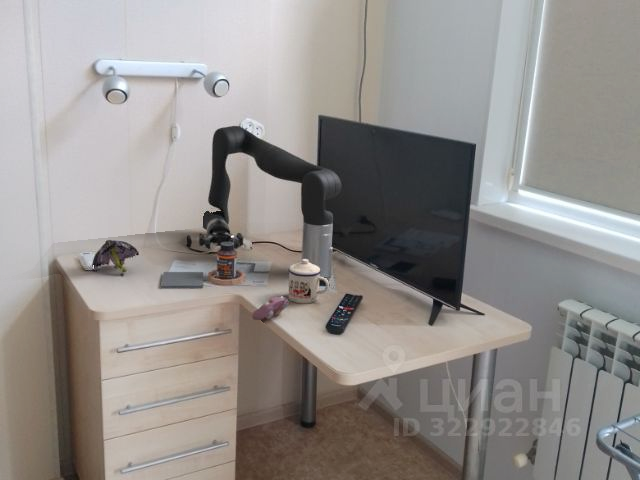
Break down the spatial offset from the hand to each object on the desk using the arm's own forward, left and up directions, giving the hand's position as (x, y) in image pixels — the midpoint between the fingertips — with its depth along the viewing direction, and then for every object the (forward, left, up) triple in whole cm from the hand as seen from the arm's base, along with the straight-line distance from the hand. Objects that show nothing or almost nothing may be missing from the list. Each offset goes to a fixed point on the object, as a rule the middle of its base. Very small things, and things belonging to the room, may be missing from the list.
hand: (222, 246), depth 217 cm
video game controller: (-13, +41, -7) cm, 43 cm away
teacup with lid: (-24, +28, -7) cm, 38 cm away
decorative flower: (+33, +5, -7) cm, 34 cm away
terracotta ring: (-1, +11, -7) cm, 13 cm away
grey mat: (+12, +13, -7) cm, 19 cm away
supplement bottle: (-1, +11, -7) cm, 13 cm away
